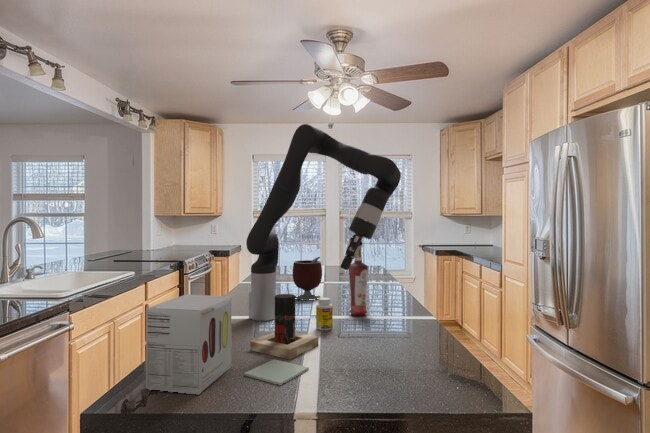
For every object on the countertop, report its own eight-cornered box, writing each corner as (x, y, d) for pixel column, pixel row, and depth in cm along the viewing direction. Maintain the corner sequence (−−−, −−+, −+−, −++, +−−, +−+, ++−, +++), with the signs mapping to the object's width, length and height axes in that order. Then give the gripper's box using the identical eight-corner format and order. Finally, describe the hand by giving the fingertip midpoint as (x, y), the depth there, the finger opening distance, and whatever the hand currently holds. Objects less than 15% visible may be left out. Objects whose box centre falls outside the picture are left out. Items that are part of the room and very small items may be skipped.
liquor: (358, 318, 150) (358, 243, 151) (344, 315, 156) (344, 242, 156) (371, 315, 155) (371, 242, 155) (358, 312, 161) (357, 241, 161)
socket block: (250, 350, 114) (250, 341, 114) (281, 337, 126) (281, 329, 126) (289, 359, 107) (289, 349, 107) (318, 345, 119) (318, 336, 119)
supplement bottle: (321, 331, 133) (321, 300, 133) (313, 328, 137) (313, 298, 137) (335, 329, 136) (335, 299, 136) (326, 325, 141) (326, 296, 141)
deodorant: (275, 344, 119) (275, 294, 119) (295, 344, 120) (295, 293, 120) (274, 351, 113) (274, 298, 114) (295, 350, 114) (295, 297, 114)
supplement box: (201, 396, 85) (200, 310, 85) (143, 391, 87) (144, 308, 87) (233, 366, 102) (233, 295, 102) (185, 363, 104) (185, 293, 104)
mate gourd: (286, 297, 190) (286, 255, 190) (309, 294, 199) (308, 253, 199) (307, 303, 178) (307, 257, 178) (330, 298, 188) (330, 255, 188)
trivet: (244, 375, 96) (244, 372, 96) (273, 361, 105) (273, 359, 105) (280, 385, 90) (280, 382, 90) (308, 369, 100) (308, 367, 100)
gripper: (355, 218, 132) (334, 264, 130) (354, 212, 118) (331, 263, 116) (376, 228, 130) (355, 274, 129) (378, 222, 116) (354, 274, 115)
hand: (344, 268), depth 123 cm, fingers open, 8 cm apart
